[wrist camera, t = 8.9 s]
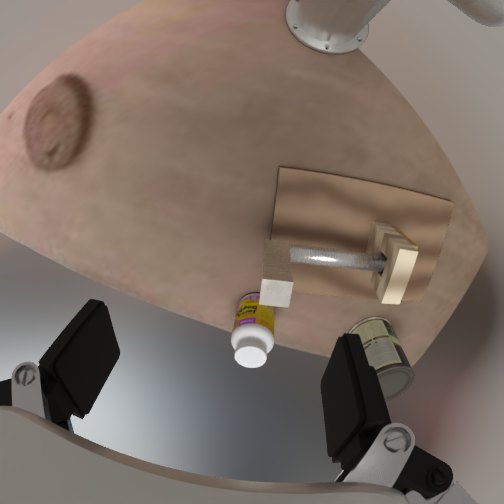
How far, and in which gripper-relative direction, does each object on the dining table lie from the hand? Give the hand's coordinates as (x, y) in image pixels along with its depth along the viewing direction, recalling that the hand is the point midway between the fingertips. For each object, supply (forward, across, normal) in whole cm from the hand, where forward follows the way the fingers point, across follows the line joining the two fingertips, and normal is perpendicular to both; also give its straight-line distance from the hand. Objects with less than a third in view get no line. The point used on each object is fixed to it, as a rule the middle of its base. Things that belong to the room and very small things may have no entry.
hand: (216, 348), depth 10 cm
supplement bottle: (+33, -2, +22) cm, 40 cm away
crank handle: (+26, -11, +7) cm, 29 cm away
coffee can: (+33, -26, +27) cm, 50 cm away
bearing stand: (+33, -18, +7) cm, 38 cm away
